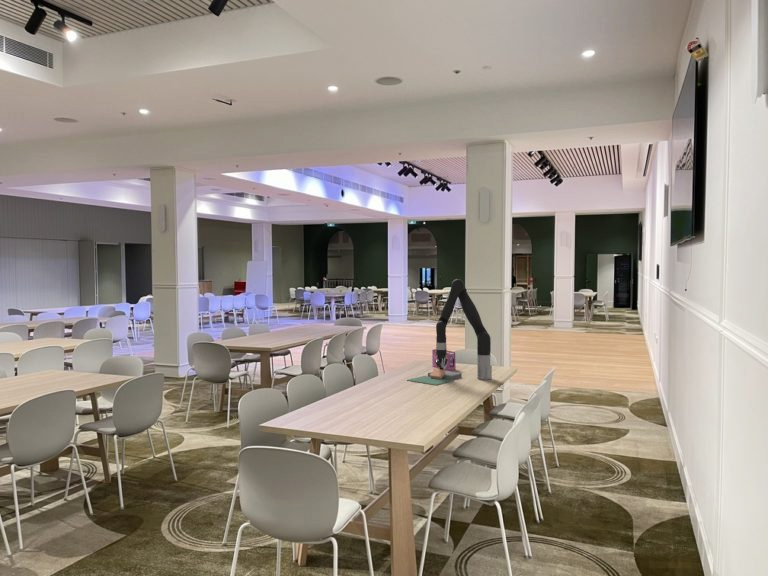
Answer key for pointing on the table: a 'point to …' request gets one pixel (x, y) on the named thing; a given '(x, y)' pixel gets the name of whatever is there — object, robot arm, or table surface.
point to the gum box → (450, 363)
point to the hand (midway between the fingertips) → (441, 372)
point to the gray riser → (450, 375)
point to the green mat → (430, 380)
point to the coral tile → (437, 373)
